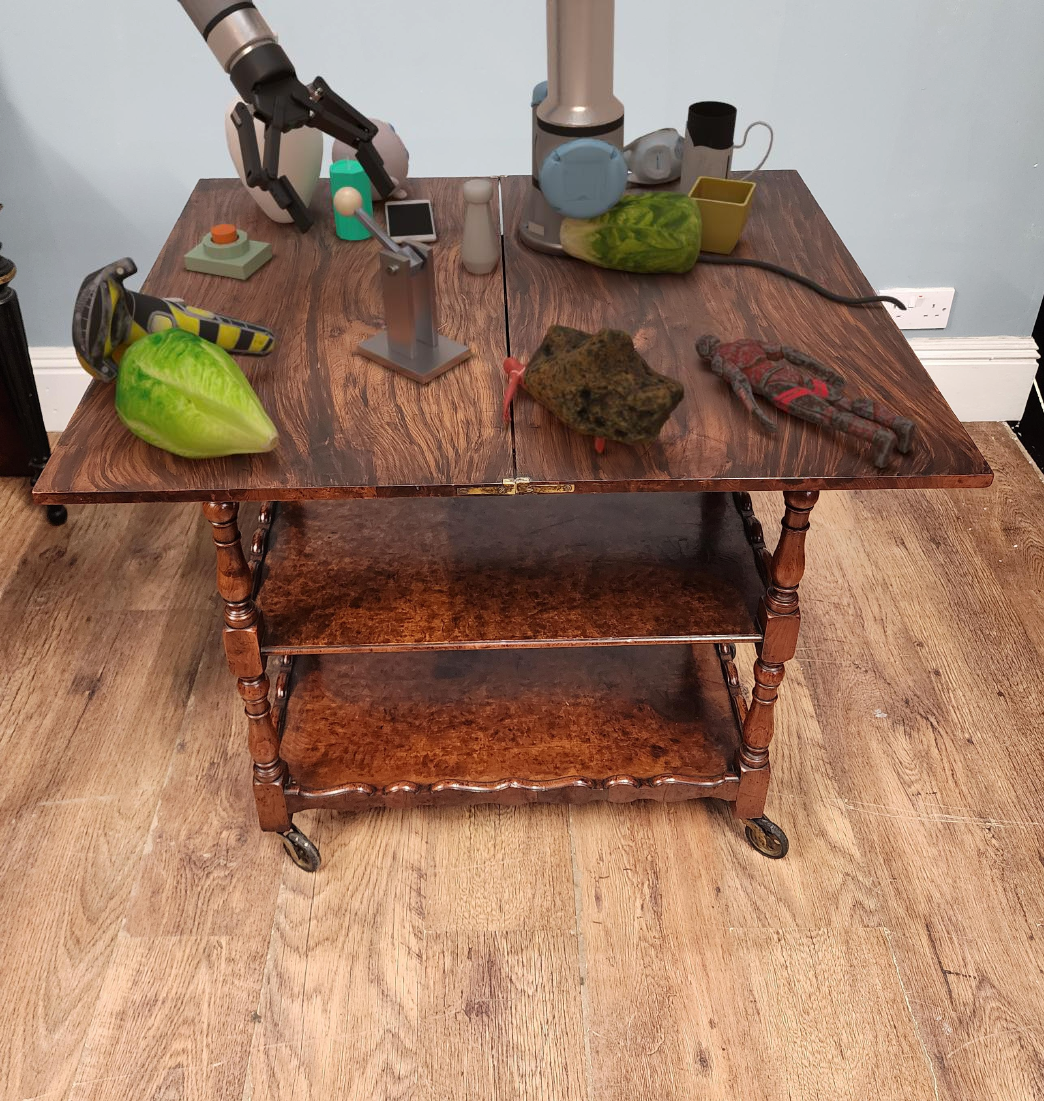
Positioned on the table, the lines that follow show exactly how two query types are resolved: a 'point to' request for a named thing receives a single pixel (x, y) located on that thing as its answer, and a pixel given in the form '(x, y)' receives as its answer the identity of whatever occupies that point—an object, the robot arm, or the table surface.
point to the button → (224, 234)
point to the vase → (281, 160)
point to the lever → (372, 225)
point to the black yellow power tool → (148, 321)
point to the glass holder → (711, 143)
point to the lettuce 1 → (190, 398)
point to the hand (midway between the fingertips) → (350, 210)
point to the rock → (601, 385)
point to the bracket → (411, 320)
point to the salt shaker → (479, 228)
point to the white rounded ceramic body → (655, 157)
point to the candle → (355, 177)
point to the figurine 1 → (515, 377)
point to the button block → (228, 256)
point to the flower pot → (722, 211)
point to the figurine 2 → (802, 392)
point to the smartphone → (410, 220)
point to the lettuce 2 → (639, 234)
